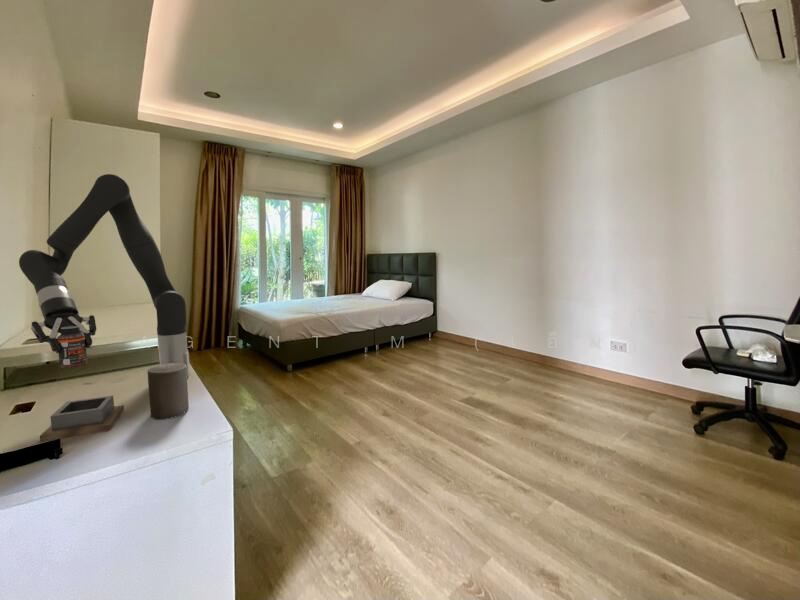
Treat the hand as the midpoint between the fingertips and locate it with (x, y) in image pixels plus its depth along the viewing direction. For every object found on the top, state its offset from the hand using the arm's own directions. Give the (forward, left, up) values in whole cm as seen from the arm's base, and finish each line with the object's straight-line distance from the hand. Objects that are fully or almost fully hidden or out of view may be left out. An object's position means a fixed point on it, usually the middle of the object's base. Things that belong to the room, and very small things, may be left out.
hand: (74, 348), depth 101 cm
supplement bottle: (+1, -2, -5) cm, 6 cm away
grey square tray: (-3, +8, -18) cm, 20 cm away
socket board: (-3, +8, -20) cm, 22 cm away
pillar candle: (-23, +9, -20) cm, 32 cm away
